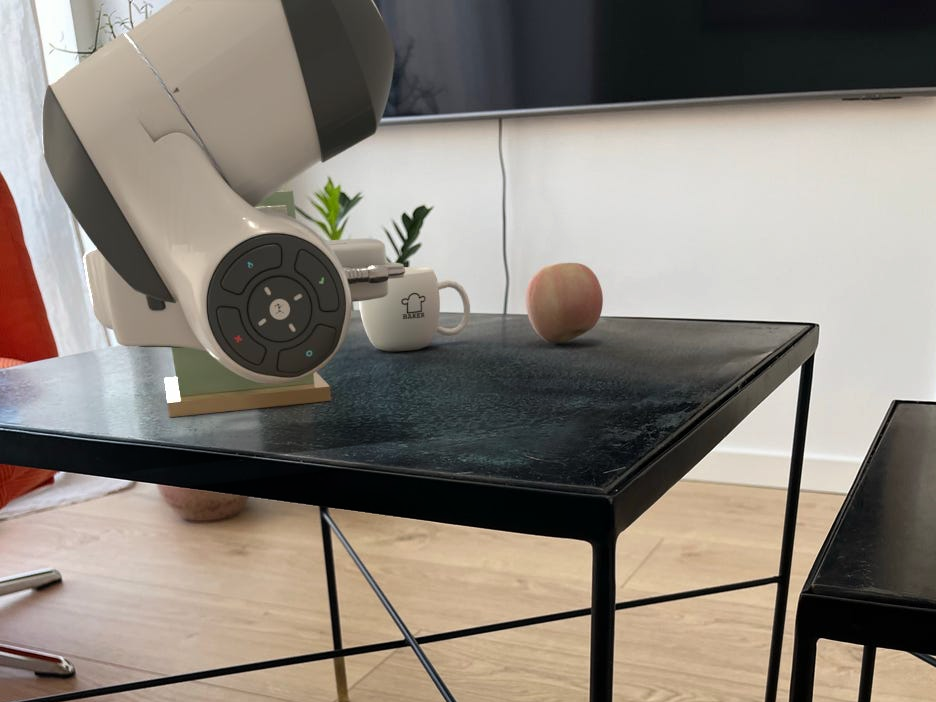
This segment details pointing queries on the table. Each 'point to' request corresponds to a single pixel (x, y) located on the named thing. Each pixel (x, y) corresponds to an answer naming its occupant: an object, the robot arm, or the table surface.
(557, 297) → the apple
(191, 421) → the table surface
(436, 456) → the table surface
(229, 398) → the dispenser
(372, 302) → the mug
